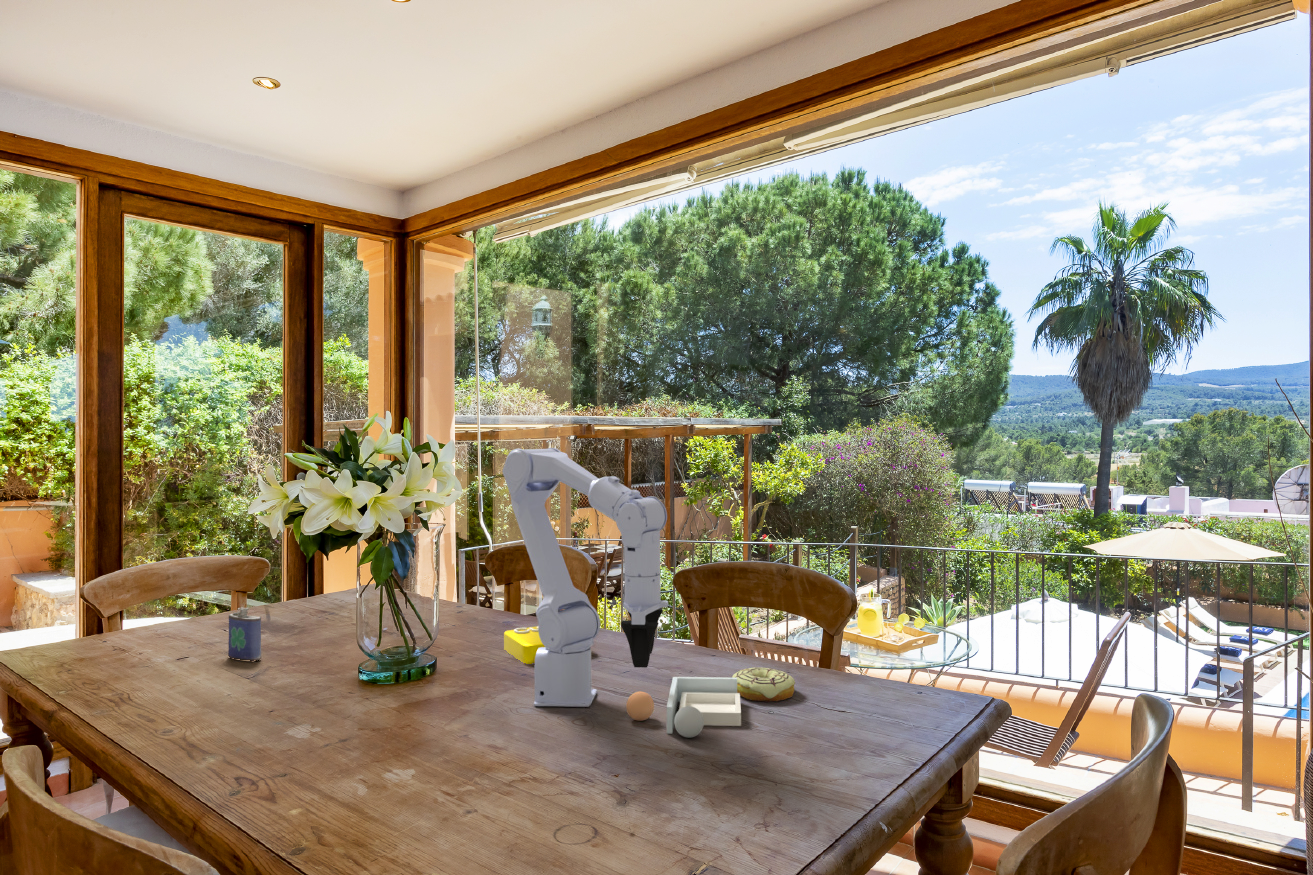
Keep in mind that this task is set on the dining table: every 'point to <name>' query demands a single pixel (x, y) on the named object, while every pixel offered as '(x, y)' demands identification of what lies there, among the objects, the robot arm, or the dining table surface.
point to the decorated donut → (764, 684)
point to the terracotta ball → (640, 706)
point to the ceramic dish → (715, 707)
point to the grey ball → (689, 721)
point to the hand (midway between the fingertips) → (643, 659)
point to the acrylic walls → (695, 686)
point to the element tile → (523, 643)
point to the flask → (244, 636)
